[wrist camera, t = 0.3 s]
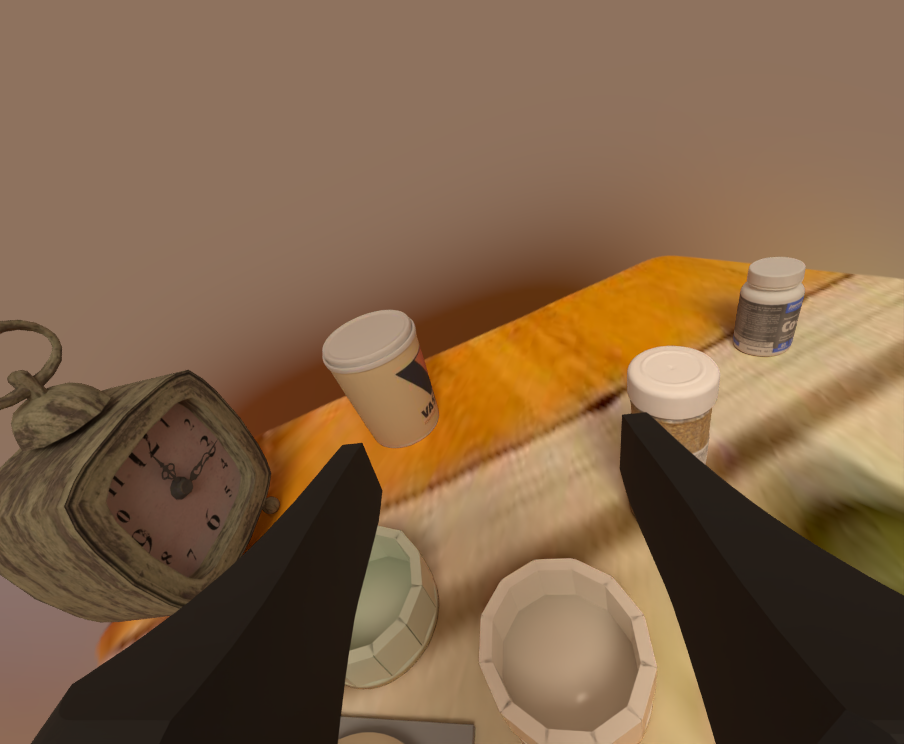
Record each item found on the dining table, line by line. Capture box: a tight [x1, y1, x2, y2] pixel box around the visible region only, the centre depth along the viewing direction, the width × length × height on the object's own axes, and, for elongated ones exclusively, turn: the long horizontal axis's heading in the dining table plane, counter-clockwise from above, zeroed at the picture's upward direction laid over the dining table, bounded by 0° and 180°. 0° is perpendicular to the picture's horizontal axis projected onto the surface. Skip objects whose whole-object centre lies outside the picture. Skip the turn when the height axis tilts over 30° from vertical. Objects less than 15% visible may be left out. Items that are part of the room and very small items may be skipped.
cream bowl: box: [479, 558, 657, 744], centre depth 23 cm, size 9×9×4 cm
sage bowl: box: [345, 526, 439, 689], centre depth 28 cm, size 9×9×4 cm
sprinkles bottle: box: [627, 346, 720, 516], centre depth 26 cm, size 5×5×14 cm
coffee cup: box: [322, 310, 439, 448], centre depth 42 cm, size 9×9×12 cm
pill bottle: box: [733, 257, 805, 356], centre depth 39 cm, size 5×5×8 cm
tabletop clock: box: [0, 320, 280, 622], centre depth 30 cm, size 14×9×25 cm, turn 179°
